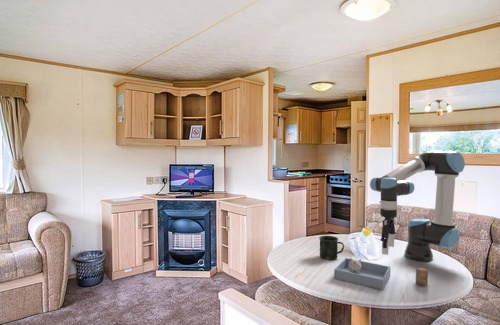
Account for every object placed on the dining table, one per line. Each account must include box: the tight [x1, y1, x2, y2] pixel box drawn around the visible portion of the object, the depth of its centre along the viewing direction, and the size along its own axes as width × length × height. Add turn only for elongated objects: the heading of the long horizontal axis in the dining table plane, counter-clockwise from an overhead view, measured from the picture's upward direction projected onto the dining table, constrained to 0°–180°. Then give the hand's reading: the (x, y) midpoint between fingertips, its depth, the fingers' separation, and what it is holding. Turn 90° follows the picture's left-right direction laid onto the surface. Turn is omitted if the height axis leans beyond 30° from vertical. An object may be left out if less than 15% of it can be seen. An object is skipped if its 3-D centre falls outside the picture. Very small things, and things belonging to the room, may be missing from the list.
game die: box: [347, 257, 364, 274], centre depth 161 cm, size 9×8×10 cm
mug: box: [318, 235, 345, 261], centre depth 187 cm, size 11×15×12 cm
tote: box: [333, 257, 391, 291], centre depth 159 cm, size 19×23×5 cm
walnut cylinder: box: [415, 267, 429, 287], centre depth 151 cm, size 5×5×7 cm
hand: (388, 250), depth 156 cm, fingers open, 13 cm apart
